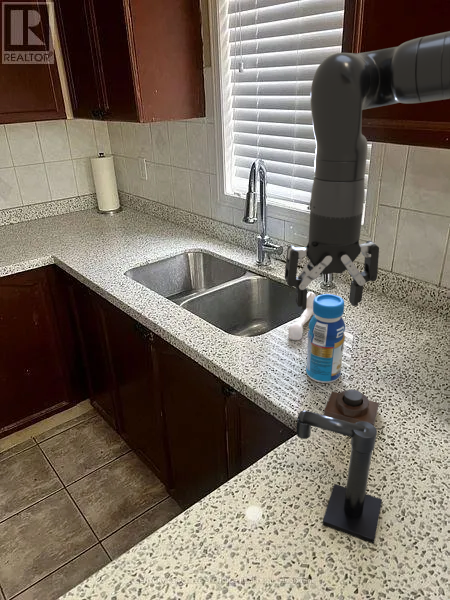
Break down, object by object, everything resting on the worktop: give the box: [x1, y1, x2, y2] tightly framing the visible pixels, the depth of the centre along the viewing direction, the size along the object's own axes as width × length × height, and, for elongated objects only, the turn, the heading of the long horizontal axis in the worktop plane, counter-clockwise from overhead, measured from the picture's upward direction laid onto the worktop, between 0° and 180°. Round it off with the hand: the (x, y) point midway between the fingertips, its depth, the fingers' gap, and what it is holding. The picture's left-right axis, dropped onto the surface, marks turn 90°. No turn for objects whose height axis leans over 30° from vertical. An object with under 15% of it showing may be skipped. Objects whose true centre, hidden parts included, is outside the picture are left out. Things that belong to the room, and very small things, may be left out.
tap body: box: [322, 446, 383, 545], centre depth 70 cm, size 8×8×15 cm
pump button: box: [344, 388, 363, 407], centre depth 93 cm, size 4×4×2 cm
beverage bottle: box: [305, 293, 346, 384], centre depth 103 cm, size 8×8×20 cm
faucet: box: [287, 291, 317, 341], centre depth 127 cm, size 4×18×10 cm, turn 153°
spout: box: [295, 410, 378, 453], centre depth 68 cm, size 12×3×4 cm, turn 65°
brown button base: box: [323, 389, 380, 427], centre depth 94 cm, size 10×7×4 cm
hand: (328, 305), depth 73 cm, fingers open, 8 cm apart
